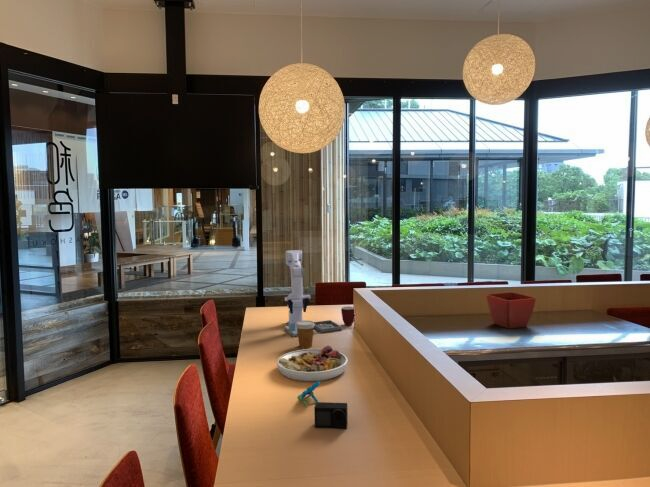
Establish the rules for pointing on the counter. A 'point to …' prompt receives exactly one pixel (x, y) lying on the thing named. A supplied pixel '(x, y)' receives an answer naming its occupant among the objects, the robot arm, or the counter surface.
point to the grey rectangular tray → (327, 326)
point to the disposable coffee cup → (305, 333)
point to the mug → (348, 315)
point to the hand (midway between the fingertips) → (298, 312)
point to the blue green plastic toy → (309, 393)
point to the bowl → (312, 364)
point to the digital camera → (331, 415)
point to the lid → (293, 328)
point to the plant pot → (510, 309)
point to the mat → (296, 335)
